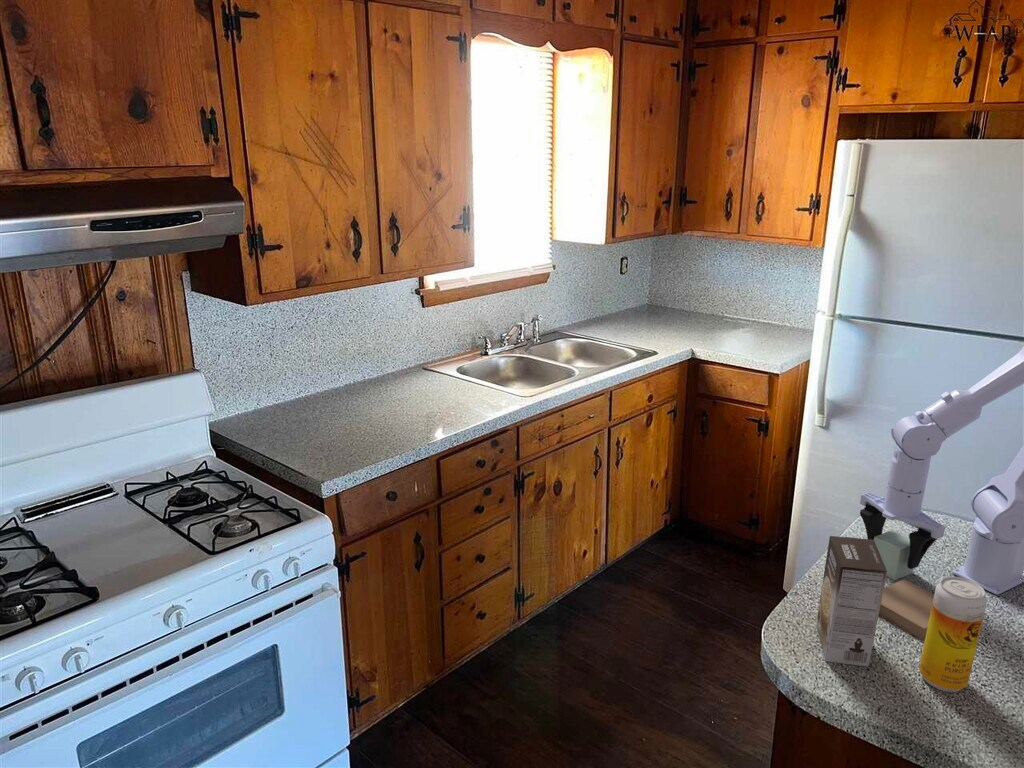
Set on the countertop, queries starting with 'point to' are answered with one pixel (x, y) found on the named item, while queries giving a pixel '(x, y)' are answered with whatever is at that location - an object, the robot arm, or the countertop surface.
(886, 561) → the sage block
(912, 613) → the walnut board
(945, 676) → the beer can
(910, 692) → the countertop surface
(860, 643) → the coffee box
